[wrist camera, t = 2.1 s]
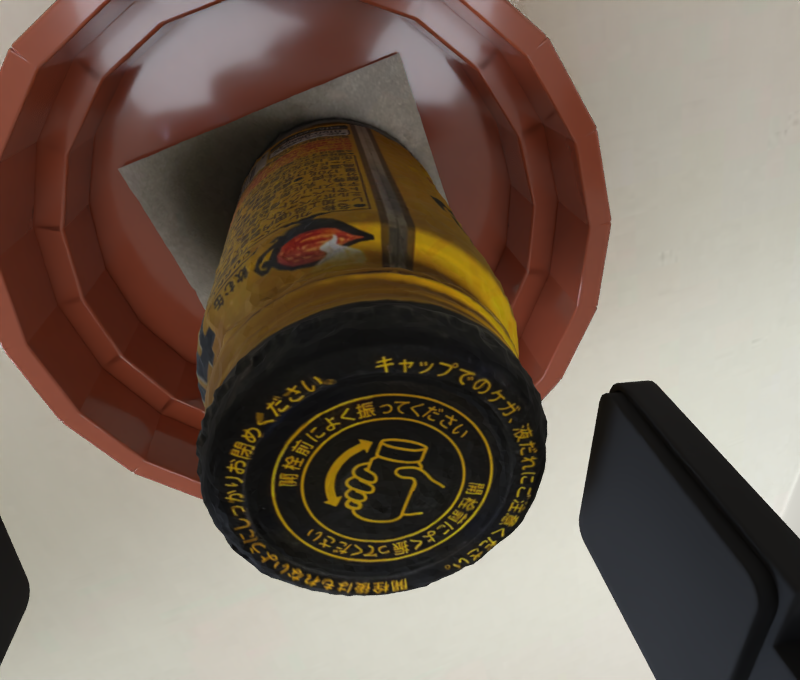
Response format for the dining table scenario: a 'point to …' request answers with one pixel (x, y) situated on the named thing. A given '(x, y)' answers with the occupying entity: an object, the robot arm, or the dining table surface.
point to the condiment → (345, 343)
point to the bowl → (231, 100)
